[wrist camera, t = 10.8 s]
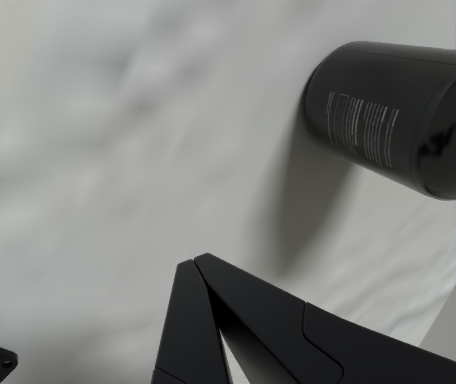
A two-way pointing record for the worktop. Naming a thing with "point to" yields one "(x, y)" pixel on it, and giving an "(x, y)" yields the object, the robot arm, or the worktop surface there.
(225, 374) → the robot arm
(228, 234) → the worktop surface
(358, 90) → the supplement bottle
